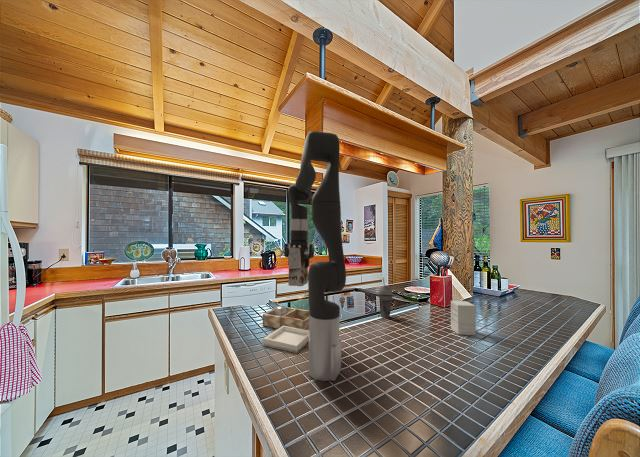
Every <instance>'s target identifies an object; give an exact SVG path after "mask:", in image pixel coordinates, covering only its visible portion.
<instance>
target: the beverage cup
mask: <svg viewBox="0 0 640 457" xmlns="http://www.w3.org/2000/svg"><path fill="white" fill-rule="evenodd" d="M382 284H383V286H381V287H380V288H379V289H378V293H377V294H378V298H379V313H380V317H381V318H383V319H390V318H391V317H390V316H391V310H392V309H391V307H392V299H393V290H392V289H391V288H390V287H389V286H387V285H385V278H384V277H382Z"/></svg>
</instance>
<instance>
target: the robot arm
mask: <svg viewBox="0 0 640 457" xmlns="http://www.w3.org/2000/svg"><path fill="white" fill-rule="evenodd" d="M340 148H341V147H340V139H339V136H338V134H336V133H333V132H327V131H326V132H325V131H318V130H310V131H309V132H308V133H307V134H306V137H305V140H304V143H303V149H302V153H301V159H300V160H301V161H300V166H299V167H300V168H299V172H298V175H297V176H296V180H295V184H291V185H290V186H288V189H287V196H288V199H289V204H290V210H291V221H290V243H284V244H283V245H284V246H283V248H284V253H283V254H284V257H285V258H287V260H288V261H287V262H288V264H287V265H288V266H289V248H305V249H306V252H304V254H305V268H308V283H307V285H308V291H307V292H308V308H309V310H308V311H309V342H308V360H307V361H308V363H307V364H308V365H307V367H308V368H307V369H308V370H307V371H308V372H307V373H308V375H309V376H310V377H311V378H312V379H314V380H317V381H321V382H327V381H333V382H335V381H336V379H337V378H338V376H339V374H340V373H341V371H342V339H341V338H340V329H341V328H340V327H341V326H340V324H341V322H340V321H341V320H340V319H341V318H340V317H341V314H340V313H341V311H340V306H339V304H337V303H336V302H334V301H329V300H327V299H325V298H326V297H325V293H333V292H341V291H342V290H343V289H344V288H345V287H346V282H347V281H346V280H347V271H346V270H347V268H346V262H345V256H344V255H345V254H344V247H343V238H342V218H341V217H342V210H341V209H342V208H341V197H340V196H341V193H340V155H341V154H340V151H341V150H340ZM311 161H314V162H322V163H323V162H324V163H326V172H325V174H324V176H323V179H322V181H321V182H320V184H319V185H318V187H317V189H315V191H314V193H313V195H312V188H313V185H314V184H315V181H316V179H317V173H316V169H315V167H314V165H313V163H312V162H311ZM310 199H311V219H312V223H313V226H314V227H315V229H316V231H317V232H318V234H319V235H320V237H321V238H322V240H323V241H324V243H325V246H326V249H327V250H326V251H327V255H328V261H313V262H312V263H311V264H310V260H311V259H312V258H314V257H315V244H314V243H308V240H309V239H308V238H309V235H308V234H309V225H308V224H309V221H308V207H307V206H304V205H301V204H299V203H298V202H308V201H309V200H310ZM307 248H308V251H307Z"/></svg>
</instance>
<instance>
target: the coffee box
mask: <svg viewBox="0 0 640 457" xmlns="http://www.w3.org/2000/svg"><path fill="white" fill-rule="evenodd" d="M307 251H308V252H309V248H308V247H307ZM304 252H306V249H305V248H291V247H290V248H289V265H288V284H287V285H288V286H289V287H303V286H304V285H308V271H309V267H308V268H305V254H304Z"/></svg>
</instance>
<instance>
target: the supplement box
mask: <svg viewBox="0 0 640 457" xmlns="http://www.w3.org/2000/svg"><path fill="white" fill-rule="evenodd" d="M476 321H477V320H476V305H474V304H473V303H471V302H469V301H467V300H465V301H464V300H463V301H462V300H461V301H460V300H450V329H451V330H452V331H454V332H455V333H456V334H457V335H461V336H463V335H466V336H476V335H477V334H476V332H477V331H476V327H477V326H476Z"/></svg>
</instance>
